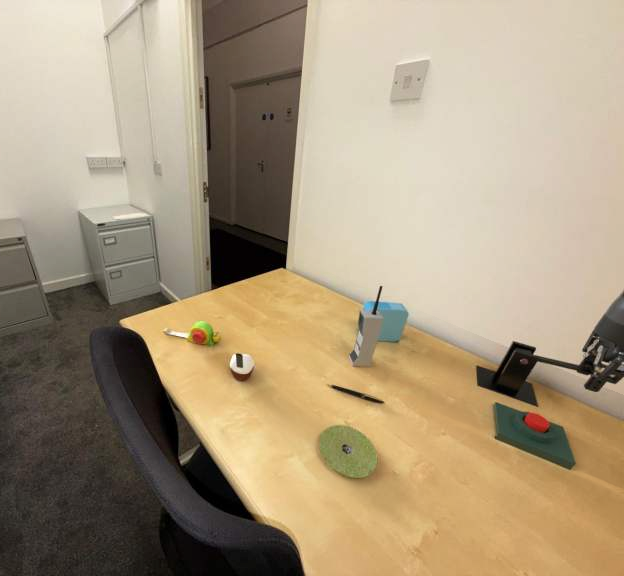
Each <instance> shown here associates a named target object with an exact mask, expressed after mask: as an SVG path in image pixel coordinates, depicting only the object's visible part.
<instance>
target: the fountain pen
mask: <svg viewBox="0 0 624 576" xmlns="http://www.w3.org/2000/svg"><path fill="white" fill-rule="evenodd" d="M326 386H328V387H331V389H334V390H337V391H340V392H343V393H345V394H348V395H352V396H355V397H358V398H361V399H362V400H363V399H364V400H367V401H370V402H374V403H379V404H385V403H386V402H385V401H384V400H382V399H380V398H378V397H376V396H373V395H370V394H367V393H363V392H360V391H357V390H353V389H350V388H346V387H342V386H340V385H339V386H338V385H335V384H329V383H326Z"/></svg>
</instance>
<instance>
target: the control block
mask: <svg viewBox="0 0 624 576" xmlns="http://www.w3.org/2000/svg"><path fill="white" fill-rule="evenodd" d="M492 408H493V415H494V425H495V426H494V427H495V435H494V439H495V440H496V441H498V442H501V443H503V444H506V445H509V446H511V447H514V448H515V449H518V450H521V451H522V452H525V453H528V454H530V455H532V456H535V457H537V458H539V459H543V460H544V461H547V462H549V463H552V464H554V465H556V466H558V467H562V468H564V469H566V470H569V471H571V470H572V469H573V468H574V466H575V465H576V460H575V457H574V454H573V451H572V448H571V446H570V442H569V440H568V437H567V433H566V431H565V428H564V426H563V425H560V424H557V423H554V422H552V421H550V420H548V422H549V423H550V426H549V428H548V429H547V430H546V432H543V433H541V432H538V431H536V430H533V429H532V428H530V427H529V426H527V425H526V423H525V422H524V419H525V417H526V416H527V414H528V413H531V412H530V411H522V410H519V409H517V408H513V407H511V406H508V405H505V404H502V403H499V402H497V401H495V402H494V403H493V405H492Z"/></svg>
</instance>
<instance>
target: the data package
mask: <svg viewBox="0 0 624 576" xmlns="http://www.w3.org/2000/svg"><path fill="white" fill-rule="evenodd" d="M375 302H376V300H375V301H373V300H369V301H366V302H365V303H364V304H363V307H362V310H373V309H374V305H375ZM377 311H378V312H379V313H380V315H381V316H382V317H383V319H384V320H383V323H382V327H381V330H380V333H379V337H378V340H377V342H388V343H389V342H390V343H398V342H400V340H401V339H402V336H403V332H404V330H405V327H406V324H407V321H408V318H409V316H410V315H409V311H408V309H406V307H405V305H404V304H403V303H401V302H389V301H379V303H378V307H377ZM357 329H358V330H359V326H358V327H357Z"/></svg>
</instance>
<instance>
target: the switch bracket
mask: <svg viewBox="0 0 624 576" xmlns="http://www.w3.org/2000/svg"><path fill="white" fill-rule="evenodd" d="M516 347H518V348H522V349H527V350H531V353H532V354H529V353H526V352H522V351H519V350H516V349H515V348H516ZM536 351H537V347H536V346H532V345H529V344H525V343H522V342H519V341H515V340H513V341H511V344H510V345H509V347H508V348H507V351H506V352H505V354H504V356H503V358H502V360H501V362H500V363H499V365H498V366H497V368H496V370H492V369H489V368H486V367H484V366H480V365H475V369H476V371H475V372H476V385H477V387H480V388H483V389H486V390H489V391H491V392H494V393H496V394H499V395H504V396H506V397H508V398H511V399H514V400H517V401H518V402H519V401H520V402H522V403H525V404H528V405H531V406H534V407H536V408H538V407H539V404H538V400H537V397H536V393H535V390H534V385H533V383H532V382H529V381H527V379H528V377H529V376H530V374H531V372H532V371H533V370H534V368H535V367H536V365H537V363H539V362H538V360H539V356H540V355H537V356H536V354H535V353H536Z"/></svg>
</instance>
